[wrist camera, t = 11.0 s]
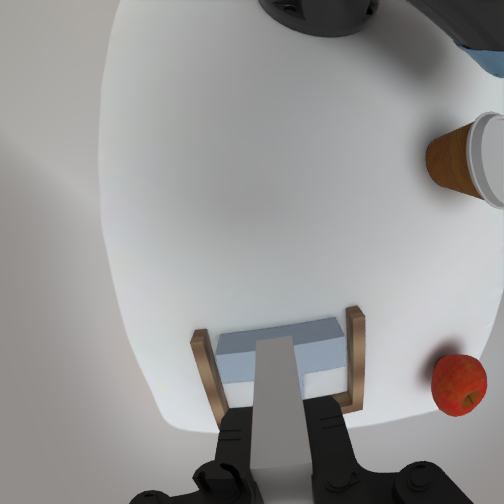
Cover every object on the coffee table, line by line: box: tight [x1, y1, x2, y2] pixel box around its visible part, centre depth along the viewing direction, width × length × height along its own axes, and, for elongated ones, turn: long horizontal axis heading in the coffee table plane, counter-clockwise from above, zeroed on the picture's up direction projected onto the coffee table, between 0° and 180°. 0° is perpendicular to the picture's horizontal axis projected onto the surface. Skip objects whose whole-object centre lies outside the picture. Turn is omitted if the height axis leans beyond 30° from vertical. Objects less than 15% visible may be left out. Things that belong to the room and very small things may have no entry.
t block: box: [215, 317, 346, 400], centre depth 33 cm, size 10×14×5 cm
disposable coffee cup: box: [426, 112, 504, 210], centre depth 24 cm, size 10×10×12 cm
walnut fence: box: [190, 306, 365, 430], centre depth 35 cm, size 15×20×3 cm
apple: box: [431, 354, 487, 417], centre depth 30 cm, size 9×8×11 cm
